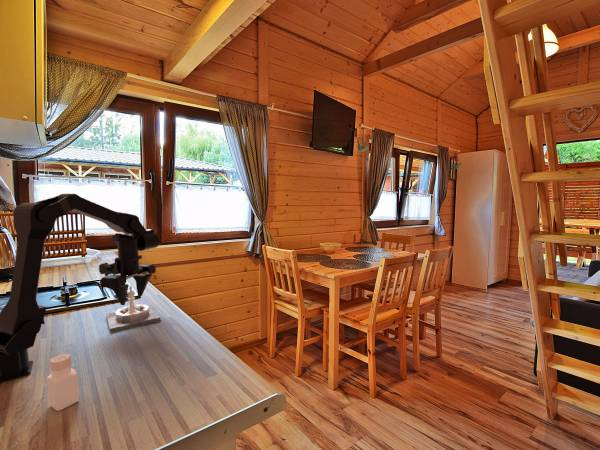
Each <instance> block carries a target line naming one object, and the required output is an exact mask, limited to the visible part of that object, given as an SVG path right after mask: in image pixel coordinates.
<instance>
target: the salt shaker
mask: <svg viewBox="0 0 600 450" xmlns="http://www.w3.org/2000/svg"><path fill="white" fill-rule="evenodd" d="M71 359H72V358H71V354H68V353H64V354H59V355H56V356H54V357H52V358H51V359H50V360H49V365H50V372H51V374H49V375H48V376H47V377H46V384H47V385H46V387H47V395H48V397H47V398H48V404H49V406H50V407H52V408H53V410H55V411H57V412H60V411H62V410H64V409H66V408H68V407H70V406H72V405H74V404H76V403H78V402H79V400H80V390H79V381H78V380H79V379H78V372H77V371H76V369H75V368H72V360H71Z"/></svg>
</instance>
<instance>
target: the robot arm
mask: <svg viewBox="0 0 600 450" xmlns="http://www.w3.org/2000/svg"><path fill="white" fill-rule="evenodd" d="M71 211H72V212H74V213H77V214H80V215H82V216H85V217H88V218H90V219H93V220H96V221H99V222H102V223H103V224H105V225H106V226H107V228H110V230H113V231H115V232H116V233H115V234H114V235H113V236H112V237H111V238H110V242H116V243H117V244H116V245H117V255H118V257H115V258H114V262H112V263H110V264H109V263H108V262H104V263H101V264H99V265H98V271H99V274H100V275H104V276H103V277H101V278H100V279H99V286H100V288H106V289H110V290H111V291H112V292H113V293H114V294H115V296H116V299H117V300H118V302H119V304H120V306H125V304H126V301H127V298H128V297H127V295H128V293H127V292H128V291H129V287H130V285H129V284H127V280H128V279H130V278H133V279H134V281H135V285H136V292H137V297H139V298H141V297H142V296H143V294H144V292H145V290H146V287H147V285H148V284H149V281H150V279H151V277H153V274H154V273H157V272H156V271H157V270H156V265H154V263H153V264H150V263H149V264H148V263H141V264H140V260H141V259H143V258H142V257H143V255H142V254H141V255H140V254H139V251H140V252H141V251H142V252H143V251H149V250H151V249H152V250H153V249H156V248H158V246H159V245H160V238H159V236H158V234H157V233H156V232H155V229H152V228H147V229H146V228H145V227H144V225H143V224H142V222H141V221H140V218H139V216H138V215H137V214H131V213H127V212H120V211H115V210H112V209H110V208H108V207H106V206H103V205H101V204H98V203H96V202H93V201H91V200H89V199H86V198H84V197H82V196H79V195H78V194H77V193H61V194H59V195H56V196H53V197H49V198H47V199H43V200H39V201H36V202H23V203H20V204H18V205H17V206H15V207H14V209H13V213H12V216H13V228H14V230H15V233H16V236H17V238H18V239H17V240H18V242H17V248H16V255H15V262H14V266H13V267H14V268H13V273H12V275H13V276H12V281H11V287H10V293H9V299H8V301H7V302H6V303H5V305H4V306H3V308H1V311H0V383H3V382H6V381H11V380H14V379H18V378H21V377H25V376H29V375H30V374H31V372H32V368H33V366H34V365H33V364H34V360H30V359H29V348H30V349H31V348H32V347H34V345H35V342H36V340H37V339H36V338H37V334H38V333H40V331H41V328H42V325H45V315H46V312H47V307H46V306H43V305H39V303H38V301H37V295H38V288H39V283H40V282H39V280H40V275H41V270H42V269H41V267H42V262H43V254H44V247H45V241H46V239H47V238H48V236H49V235H50V234H51V233H52V231H53V230H54V227H55V225H56V221H57V219H59V218H62V217H63V216H64V217H65V216H66V215H67V214H69V213H70V212H71ZM122 233H123V234H122Z"/></svg>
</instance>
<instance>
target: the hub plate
mask: <svg viewBox="0 0 600 450" xmlns="http://www.w3.org/2000/svg"><path fill="white" fill-rule="evenodd" d="M129 307H130V305H128V306H123V307H120V308H118V309H117V310H116V311H114V312H113V311H112V312H110V313H109V312H108V313H106V314H105V315H106V321H107V325H108V329H109V330H108V331H109V333H114V332H115V333H116V332H119V331H123V330H127V329H133V328H135V327H136V328H137V327H141V326H144V325H148V324H149V325H150V324H153V323H158V322H161V321H162V320H161V316H160V315H159V313H158V311H157V310H156V309H155V307H154V305H153V304H149V305H147V304H141V303H139V304H134V307H135V309H136V310H138V311H140V312H137V313H132V314H125V313H127V312H128V311H129Z"/></svg>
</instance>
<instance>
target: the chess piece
mask: <svg viewBox="0 0 600 450" xmlns="http://www.w3.org/2000/svg"><path fill="white" fill-rule="evenodd" d="M134 294H135V290H133V286H132V285H129V287H128V291H127V295H128V297H127V301H129V306H130V307H129V311H128V312H127V313H125V314H132V313H137V312H140V311H138V310H136V309H135V307H134V305H135V303H134V300H135V299H136V297H134Z"/></svg>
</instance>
